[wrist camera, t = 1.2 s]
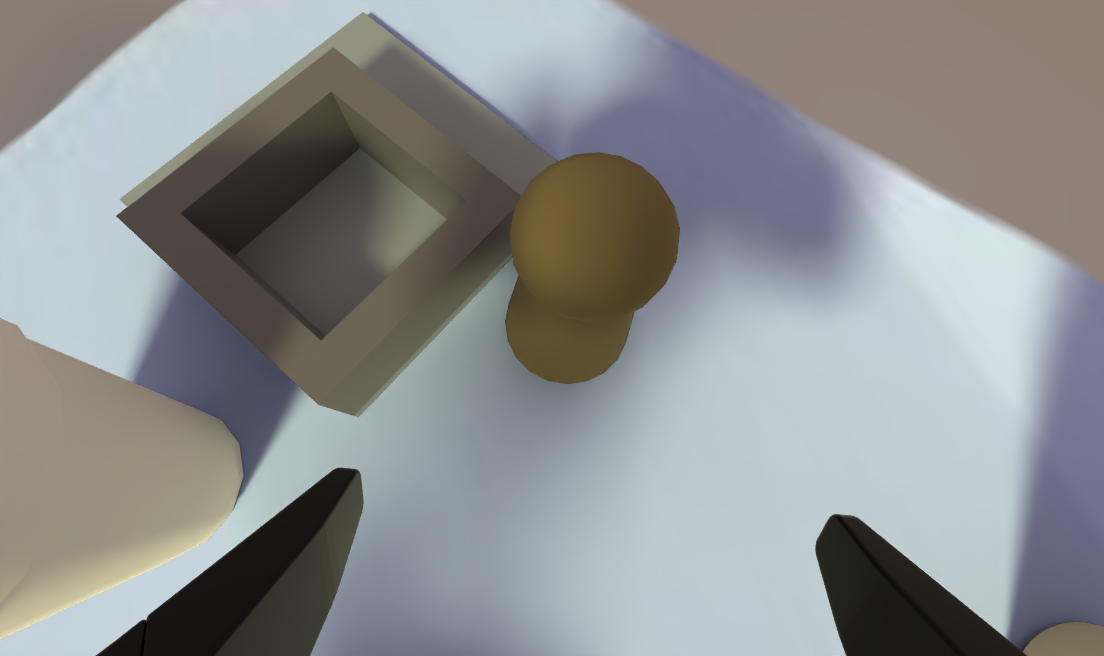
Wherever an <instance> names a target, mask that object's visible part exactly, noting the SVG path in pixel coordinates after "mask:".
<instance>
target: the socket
mask: <svg viewBox="0 0 1104 656" xmlns="http://www.w3.org/2000/svg"><path fill="white" fill-rule="evenodd" d="M556 162H558V161H556V160H555V159H554V158H552V157H551V156H550V155H548V154H547V153H546V152H545V151H543V150H542V149H541V148H539V147H538V146H537V145H535V144H534V143H533V142H531V141H530V140H529V139H528V138H526V137H525V136H524V135H522V134H521V133H520V132H518V131H517V130H516V129H515V128H513V127H512V126H511V125H509V124H508V123H507V122H505V121H504V120H503V119H502V118H500V117H499V116H498V115H496V114H495V113H494V112H492V111H491V110H490V109H489V108H487V107H486V106H485V105H483V104H482V103H481V102H479V101H478V100H477V99H476V98H474V97H473V96H472V95H470V94H469V93H468V92H466V91H465V90H464V89H463V88H461V87H460V86H459V85H457V84H456V83H455V82H453V81H452V80H451V79H450V78H448V77H447V76H446V75H444V74H443V73H442V72H440V71H439V70H438V69H437V68H435V67H434V66H433V65H431V64H430V63H429V62H427V61H426V60H425V59H424V58H422V57H421V56H420V55H418V54H417V53H416V52H414V51H413V50H412V49H410V48H409V47H408V46H407V45H405V44H404V43H403V42H401V41H400V40H399V39H397V38H396V37H395V36H394V35H392V34H391V33H390V32H388V31H387V30H386V29H384V28H383V27H382V26H381V25H379V24H378V23H377V22H375V21H374V20H373V19H371V18H370V17H369V16H368V15H366V14H365V13H364V12H362V13H361V14H360V15H358V16H357V17H356V18H355V19H353V20H352V21H351V22H349V23H348V24H347V25H345V26H344V27H343V28H342V29H340V30H339V31H338V32H336V33H335V34H334V35H332V36H331V37H330V38H329V39H327V40H326V41H325V42H323V43H322V44H321V45H319V46H318V47H317V48H316V49H314V50H313V51H312V52H310V53H309V54H308V55H306V56H305V57H304V58H303V59H301V60H300V61H299V62H297V63H296V64H295V65H293V66H292V67H291V68H290V69H288V70H287V71H286V72H284V73H283V74H282V75H280V76H279V77H278V78H277V79H275V80H274V81H273V82H271V83H270V84H269V85H267V86H266V87H265V88H264V89H262V90H261V91H260V92H258V93H257V94H256V95H254V96H253V97H252V98H251V99H249V100H248V101H247V102H245V103H244V104H243V105H241V106H240V107H239V108H238V109H236V110H235V111H234V112H232V113H231V114H230V115H228V116H227V117H226V118H225V119H223V120H222V121H221V122H219V123H218V124H217V125H215V126H214V127H213V128H212V129H210V130H209V131H208V132H206V133H205V134H204V135H202V136H201V137H200V138H199V139H197V140H196V141H195V142H193V143H192V144H191V145H189V146H188V147H187V148H186V149H184V150H183V151H182V152H180V153H179V154H178V155H176V156H175V157H174V158H173V159H171V160H170V161H169V162H167V163H166V164H165V165H163V166H162V167H161V168H160V169H158V170H157V171H156V172H154V173H153V174H152V175H151V176H149V177H148V178H147V179H145V180H144V181H143V182H141V183H140V184H139V185H138V186H136V187H135V188H134V189H132V190H131V191H130V192H128V193H127V194H126V195H125V196H123V197H122V198H121V199H120V200H121V201H122V202H123V203H124V204H125V205H126V206H127V208H126V209H124V210H123V211H122V212H121V213H119V214H118V215H117V216H116V217H118V218H119V219H120V220H121V221H122V222H123V223H124V224H125V225H126V226H127V227H128V228H129V229H130V230H132V231H133V232H134V233H135V234H136V235H137V236H138V237H139V238H140V239H141V240H142V241H143V242H144V243H145V244H147V245H148V246H149V247H150V248H151V249H152V250H153V251H154V252H155V253H156V254H157V255H158V256H159V257H160V258H162V259H163V260H164V261H165V262H166V263H167V264H168V265H169V266H170V267H171V268H172V269H173V270H174V271H176V272H177V273H178V274H179V275H180V276H181V277H182V278H183V279H184V280H185V281H186V282H187V283H188V284H189V285H191V286H192V287H193V288H194V289H195V290H196V291H197V292H198V293H199V294H200V295H201V296H202V297H203V298H204V299H206V300H207V301H208V302H209V303H210V304H211V305H212V306H213V307H214V308H215V309H216V310H217V311H218V312H220V313H221V314H222V315H223V316H224V317H225V318H226V319H227V320H228V321H229V322H230V323H231V324H232V325H233V326H235V327H236V328H237V329H238V330H239V331H240V332H241V333H242V334H243V335H244V336H245V337H246V338H247V339H248V340H250V341H251V342H252V343H253V344H254V345H255V346H256V347H257V348H258V349H259V350H260V351H261V352H262V353H264V354H265V355H266V356H267V357H268V358H269V359H270V360H271V361H272V362H273V363H274V364H275V365H276V366H277V367H279V368H280V369H281V370H282V371H283V372H284V373H285V374H286V375H287V376H288V377H289V378H290V379H291V380H292V381H294V382H295V383H296V384H297V385H298V386H299V387H300V388H301V389H302V390H303V391H304V392H305V393H306V394H308V395H309V396H310V397H311V398H312V399H313V400H314V401H315V402H316V403H317V404H318V405H321V406H324V407H327V408H331V409H334V410H337V411H340V412H343V413H346V414H350V415H353V416H356V417H359V416H360V415H361V414H362V413H363V412H364V411H365V410H366V409H367V408H368V407H369V406H370V405H371V404H372V403H373V401H374V400H375V399H376V398H377V397H378V396H379V395H380V394H381V393H382V392H383V391H384V390H385V389H386V388H387V387H388V386H389V385H390V384H391V383H392V382H393V381H394V380H395V379H396V378H397V377H398V375H399V374H400V373H401V372H402V371H403V370H404V369H405V368H406V367H407V366H408V365H409V364H410V363H411V362H412V361H413V360H414V359H415V358H416V357H417V356H418V355H419V354H420V353H421V352H422V351H423V349H424V348H425V347H426V346H427V345H428V344H429V343H430V342H431V341H432V340H433V339H434V338H435V337H436V336H437V335H438V334H439V333H440V332H441V331H442V330H443V329H444V328H445V327H446V326H447V325H448V323H449V322H450V321H451V320H452V319H453V318H454V317H455V316H456V315H457V314H458V313H459V312H460V311H461V310H462V309H463V308H464V307H465V306H466V305H467V304H468V303H469V302H470V301H471V300H472V299H473V297H474V296H475V295H476V294H477V293H478V292H479V291H480V290H481V289H482V288H483V287H484V286H485V285H486V284H487V283H488V282H489V281H490V280H491V279H492V278H493V277H494V276H495V275H496V274H497V273H498V271H499V270H500V269H501V268H502V267H503V266H504V265H505V264H506V263H507V262H508V261H509V260H510V259H511V258H512V257H513V256H512V249H511V242H510V228H511V223H512V218H513V213H514V209H515V207H516V205H517V203H518V201H519V199H520V197H521V196H522V194H523V192H524V191H525V189H526V187H527V186H528V184H529V183H530V181H531V180H532V179H533V178H534V177H536V176H537V175H538V174H539V173H540V172H542V171H543V170H544V169H545V168H546V167H548V166H549V165H551V164H554V163H556Z"/></svg>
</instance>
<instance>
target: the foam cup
mask: <svg viewBox="0 0 1104 656" xmlns="http://www.w3.org/2000/svg"><path fill="white" fill-rule="evenodd" d="M243 477H244V473H243V466H242V459H241V452H240V445H239V443H238V441H237V440H236V439H235V437H234V436H233V435H232V433H231V432H230V431H229V429H228V428H227V427H226V425H225V424H224V423H223V422H222V420H220V419H218V418H216V417H214V416H212V415H209V414H207V413H205V412H202V411H200V410H198V409H195V408H193V407H190V406H188V405H186V404H183V403H181V402H178V401H176V400H174V399H171V398H169V397H166V396H164V395H162V394H159V393H157V392H154V391H152V390H150V389H147V388H145V387H142V386H140V385H138V384H135V383H133V382H130V381H128V380H126V379H123V378H121V377H118V376H116V375H114V374H111V373H109V372H106V371H104V370H102V369H99V368H97V367H94V366H92V365H90V364H87V363H85V362H82V361H80V360H78V359H75V358H73V357H70V356H68V355H66V354H63V353H61V352H58V351H56V350H54V349H51V348H49V347H46V346H44V345H42V344H39V343H37V342H34V341H32V340H30V339H27V338H26V337H25V336H24V334H23V333H22V331H21V330H20V329H19V327H18V326H17V325H15V324H12V323H10V322H8V321H5V320H3V319H1V318H0V639H2V638H4V637H6V636H8V635H10V634H13V633H15V632H17V631H19V630H21V629H23V628H26V627H28V626H30V625H32V624H34V623H36V622H38V621H41V620H43V619H45V618H47V617H49V616H51V615H54V614H56V613H58V612H60V611H62V610H64V609H66V608H69V607H71V606H73V605H75V604H77V603H79V602H82V601H84V600H86V599H88V598H90V597H92V596H95V595H97V594H99V593H101V592H103V591H105V590H107V589H110V588H112V587H114V586H116V585H118V584H120V583H123V582H125V581H127V580H129V579H131V578H133V577H136V576H138V575H140V574H142V573H144V572H146V571H148V570H151V569H153V568H155V567H157V566H159V565H161V564H164V563H165V562H167V561H169V560H171V559H173V558H175V557H177V556H179V555H181V554H183V553H185V552H186V551H188V550H190V549H192V548H194V547H196V546H197V545H199V544H201V543H203V542H205V541H206V540H208V539H209V538H210V537H211V536H212V535H213V533H214V532H215V531H216V530H217V529H218V527H219V526H220V525H221V524H222V523H223V521H224V520H225V519H226V518H227V516H228V515H229V514H230V513H231V512H232V510H233V508H234V505H235V502H236V499H237V496H238V493H239V489H240V486H241V483H242V480H243Z"/></svg>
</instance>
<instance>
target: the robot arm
mask: <svg viewBox="0 0 1104 656" xmlns="http://www.w3.org/2000/svg"><path fill="white" fill-rule="evenodd" d="M362 509H363V491H362V482H361V474H360V472H359V471H358V470H356V469H349V468H336V469H334V470H333V471H331V472H330V473H329V474H328V475H326V476H325V477H324V478H322V479H321V480H320V481H319V482H317V483H316V484H315V485H314V486H312V487H311V488H310V489H308V490H307V491H306V492H305V493H303V494H302V495H301V496H299V497H298V498H297V499H296V500H294V501H293V502H292V503H291V504H289V505H288V506H287V507H285V508H284V509H283V510H282V511H280V512H279V513H278V514H277V515H275V516H274V517H273V518H271V519H270V520H269V521H268V522H266V523H265V524H264V525H263V526H261V527H260V528H259V529H257V530H256V531H255V532H254V533H252V534H251V535H250V536H249V537H247V538H246V539H245V540H243V541H242V542H241V543H240V544H238V545H237V546H236V547H235V548H233V549H232V550H231V551H229V552H228V553H227V554H226V555H224V556H223V557H222V558H221V559H219V560H218V561H217V562H215V563H214V564H213V565H212V566H210V567H209V568H208V569H207V570H205V571H204V572H203V573H201V574H200V575H199V576H198V577H196V578H195V579H194V580H193V581H191V582H190V583H189V584H187V585H186V586H185V587H184V588H182V589H181V590H180V591H179V592H177V593H176V594H175V595H173V596H172V597H171V598H170V599H168V600H167V601H166V602H164V603H163V604H162V605H161V606H159V607H158V608H157V609H156V610H154V611H153V612H152V613H150V614H149V615H148V617H147V621H146V620H141V621H140V622H139V623H137V624H136V625H135V626H134V627H132V628H131V629H130V630H129V631H127V632H126V633H125V634H123V635H122V636H121V637H120V638H118V639H117V640H116V641H114V642H113V643H112V644H111V645H109V646H108V647H107V648H105V649H104V650H103V651H101V652H100V653H99V654H97V655H96V656H310V654H311V652H312V649H313V647H314V645H315V643H316V640H317V638H318V636H319V633H320V631H321V629H322V626H323V624H324V622H325V619H326V617H327V615H328V613H329V610H330V608H331V605H332V603H333V600H334V598H335V595H336V593H337V590H338V587H339V584H340V581H341V578H342V574H343V571H344V568H345V565H346V562H347V558H348V555H349V552H350V549H351V546H352V542H353V539H354V536H355V533H356V530H357V526H358V523H359V520H360V517H361V514H362ZM815 550H816V556H817V560H818V563H819V567H820V571H821V574H822V578H823V581H824V585H825V588H826V592H827V596H828V599H829V603H830V606H831V610H832V613H833V617H834V621H835V624H836V627H837V630H838V634H839V637H840V640H841V642H842V645H843V648H844V651H845V653H846V656H1027V655H1026V654H1025V653H1023V652H1022V651H1021V650H1020V649H1019V648H1017V647H1016V646H1015V645H1014V644H1012V643H1011V642H1010V641H1009V640H1008V639H1006V638H1005V637H1004V636H1003V635H1001V634H1000V633H999V632H998V631H996V630H995V629H994V628H993V627H992V626H990V625H989V624H988V623H987V622H985V621H984V620H983V619H982V618H980V617H979V616H978V615H977V614H976V613H974V612H973V611H972V610H971V609H969V608H968V607H967V606H966V605H964V604H963V603H962V602H961V601H960V600H958V599H957V598H956V597H955V596H953V595H952V594H951V593H950V592H949V591H947V590H946V589H945V588H944V587H942V586H941V585H940V584H939V583H937V582H936V581H935V580H934V579H933V578H931V577H930V576H929V575H928V574H926V573H925V572H924V571H923V570H921V569H920V568H919V567H918V566H917V565H915V564H914V563H913V562H912V561H910V560H909V559H908V558H907V557H906V556H904V555H903V554H902V553H901V552H899V551H898V550H897V549H896V548H894V547H893V546H892V545H891V544H890V543H888V542H887V541H886V540H885V539H883V538H882V537H881V536H880V535H878V534H877V533H876V532H875V531H874V530H872V529H871V528H870V527H869V526H867V525H866V524H865V523H864V522H863V521H861V520H860V519H859V518H857V517H855V516H851V515H841V514H834V515H832V516H830V518H829V519H828V521H827V523H826V524H825V526H824V528H823V530H822V532H821V533H820V535H819V537H818V539H817V541H816V546H815Z"/></svg>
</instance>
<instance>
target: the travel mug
mask: <svg viewBox="0 0 1104 656" xmlns="http://www.w3.org/2000/svg"><path fill="white" fill-rule="evenodd" d="M1023 653H1025V654H1026V655H1027V656H1104V626H1100V625H1096V624H1092V623H1085V622H1069V623H1063V624H1058V625H1055V626H1053V627H1050V628H1048V629H1046V630H1044V631H1043V632H1041V633H1040V634H1038V635H1037V636H1036V637H1035V638H1034V639H1033V640H1032V641H1030V643H1029V644H1028V645H1027V646H1026V647H1025V649H1024V650H1023Z"/></svg>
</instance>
